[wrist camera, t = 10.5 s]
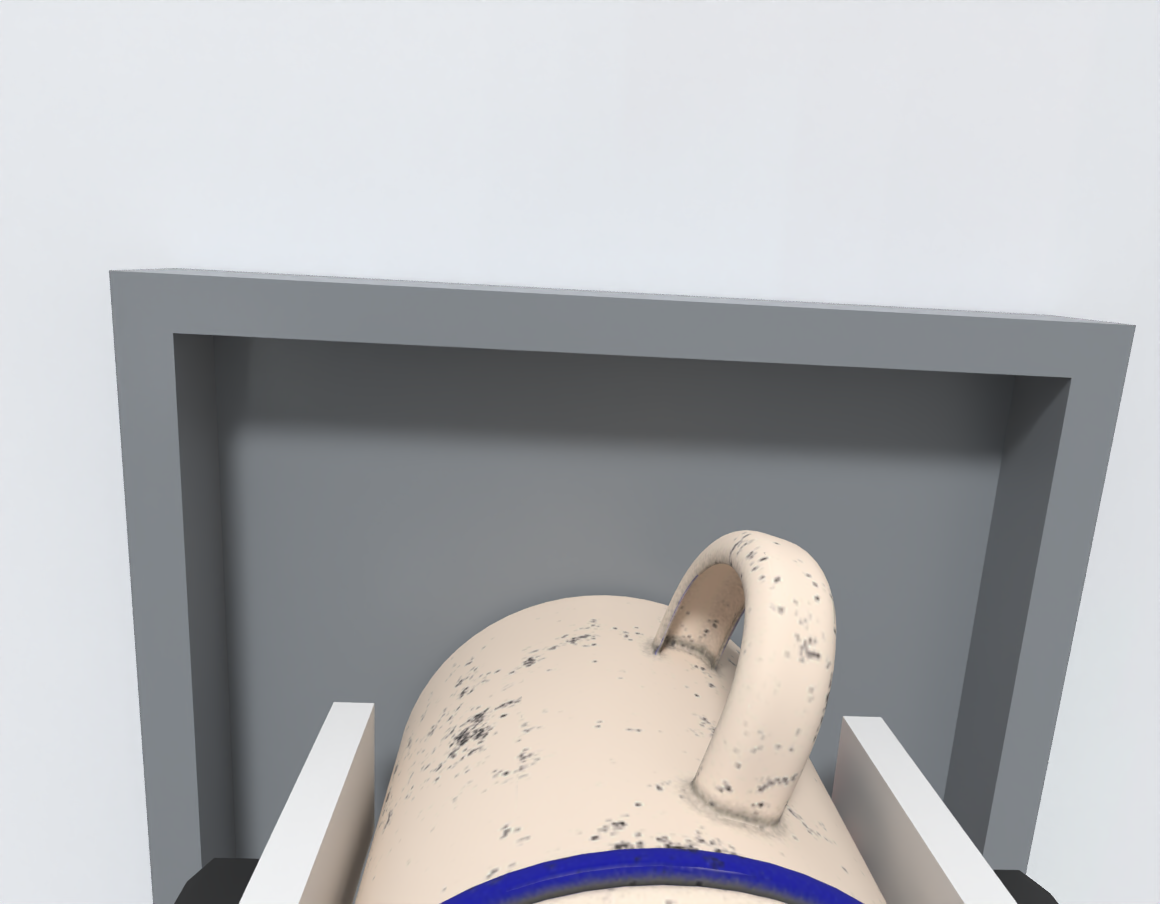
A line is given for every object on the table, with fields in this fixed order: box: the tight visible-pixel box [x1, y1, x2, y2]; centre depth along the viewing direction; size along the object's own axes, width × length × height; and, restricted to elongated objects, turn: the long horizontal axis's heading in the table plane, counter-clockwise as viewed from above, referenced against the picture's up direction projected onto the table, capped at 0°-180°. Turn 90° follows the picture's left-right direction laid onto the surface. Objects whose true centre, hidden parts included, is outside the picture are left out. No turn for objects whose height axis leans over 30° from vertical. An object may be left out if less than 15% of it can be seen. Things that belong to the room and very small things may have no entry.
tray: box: [109, 268, 1136, 904], centre depth 18 cm, size 18×18×3 cm
